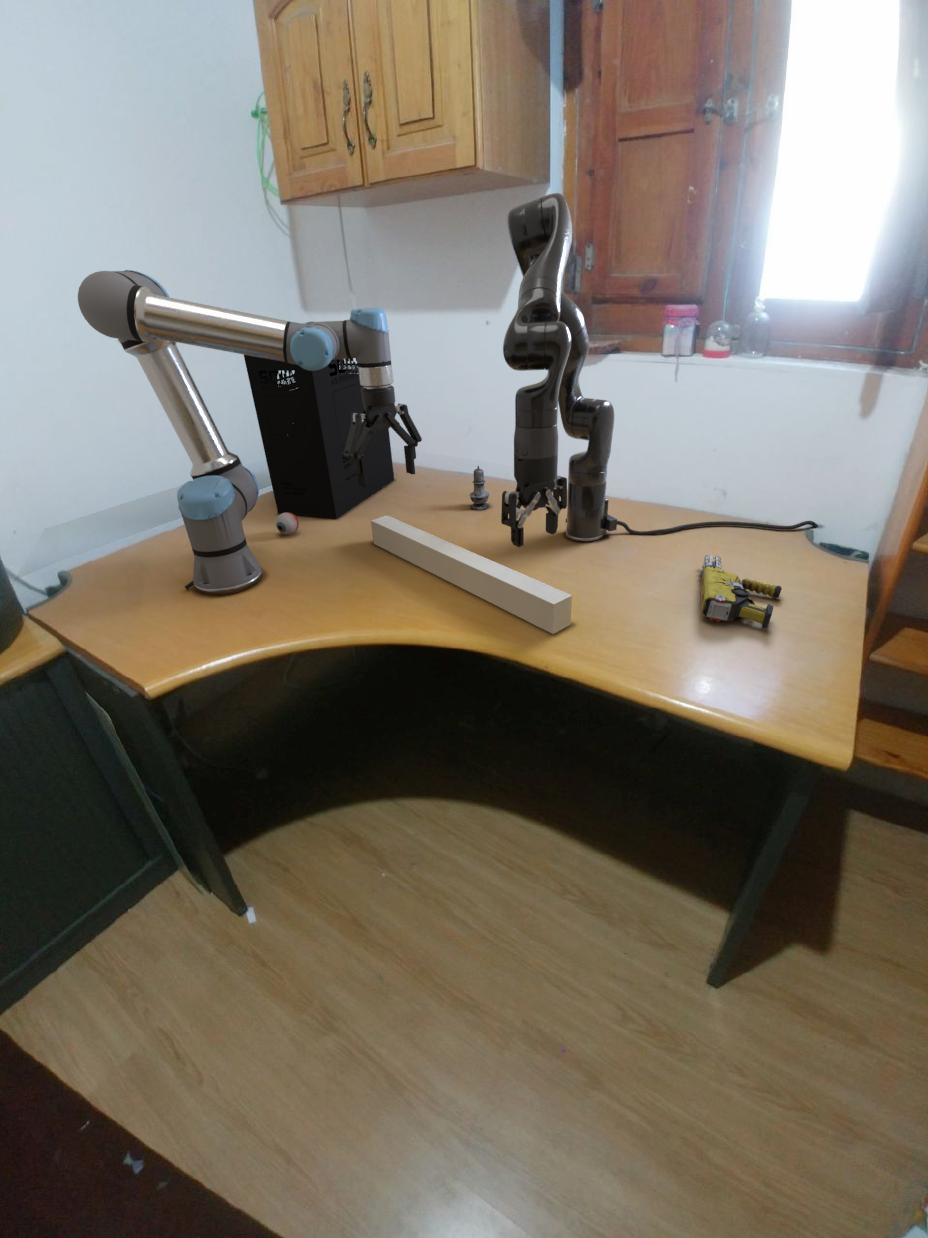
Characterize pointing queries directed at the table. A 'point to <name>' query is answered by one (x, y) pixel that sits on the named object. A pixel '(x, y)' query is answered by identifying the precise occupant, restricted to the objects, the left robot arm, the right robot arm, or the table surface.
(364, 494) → the cardboard box
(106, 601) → the table surface
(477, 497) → the salt shaker
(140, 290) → the left robot arm
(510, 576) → the bar
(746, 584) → the toy gun
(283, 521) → the eyeball
